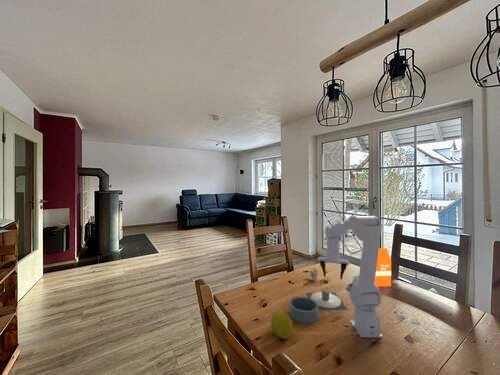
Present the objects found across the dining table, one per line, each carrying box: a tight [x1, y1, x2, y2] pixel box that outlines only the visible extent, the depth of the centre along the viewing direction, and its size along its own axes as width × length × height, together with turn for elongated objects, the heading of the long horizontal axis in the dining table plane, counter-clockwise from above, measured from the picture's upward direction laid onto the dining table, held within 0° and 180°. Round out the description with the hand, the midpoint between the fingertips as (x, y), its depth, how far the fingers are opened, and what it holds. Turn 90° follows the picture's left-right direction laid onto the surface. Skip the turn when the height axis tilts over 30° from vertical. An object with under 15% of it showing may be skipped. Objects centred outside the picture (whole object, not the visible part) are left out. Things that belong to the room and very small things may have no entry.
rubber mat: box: [305, 292, 349, 311], centre depth 106 cm, size 15×15×1 cm
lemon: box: [270, 310, 294, 340], centre depth 83 cm, size 11×8×8 cm
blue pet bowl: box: [288, 296, 320, 324], centre depth 95 cm, size 12×12×5 cm
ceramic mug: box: [346, 275, 359, 292], centre depth 117 cm, size 11×8×8 cm
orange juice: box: [374, 247, 392, 288], centre depth 125 cm, size 8×9×20 cm
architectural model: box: [307, 266, 318, 283], centre depth 130 cm, size 3×7×7 cm, turn 0°
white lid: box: [311, 289, 342, 309], centre depth 106 cm, size 14×14×4 cm
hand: (332, 277), depth 111 cm, fingers open, 7 cm apart
